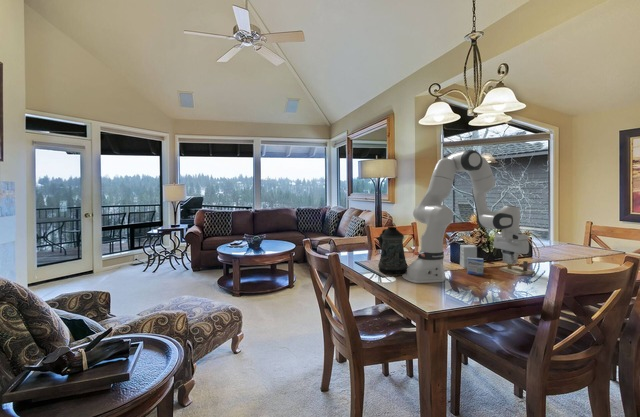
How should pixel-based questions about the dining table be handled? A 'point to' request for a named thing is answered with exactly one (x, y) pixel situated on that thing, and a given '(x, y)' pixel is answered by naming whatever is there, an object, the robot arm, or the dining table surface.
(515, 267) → the pinboard
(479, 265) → the medicine box
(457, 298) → the dining table surface
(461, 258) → the supplement box
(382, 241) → the black tall carved piece
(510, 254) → the sleeve
